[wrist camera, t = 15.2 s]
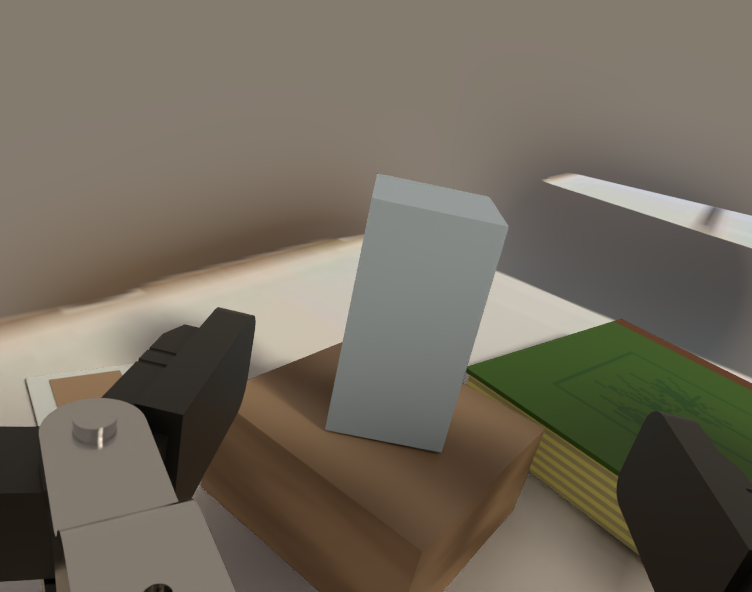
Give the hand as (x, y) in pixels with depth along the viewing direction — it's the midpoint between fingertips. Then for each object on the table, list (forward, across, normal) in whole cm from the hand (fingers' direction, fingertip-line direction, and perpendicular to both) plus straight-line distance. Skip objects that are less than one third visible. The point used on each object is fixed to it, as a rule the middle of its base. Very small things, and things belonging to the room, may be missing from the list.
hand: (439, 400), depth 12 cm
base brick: (+10, 0, +12) cm, 16 cm away
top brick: (+10, 0, +7) cm, 13 cm away
